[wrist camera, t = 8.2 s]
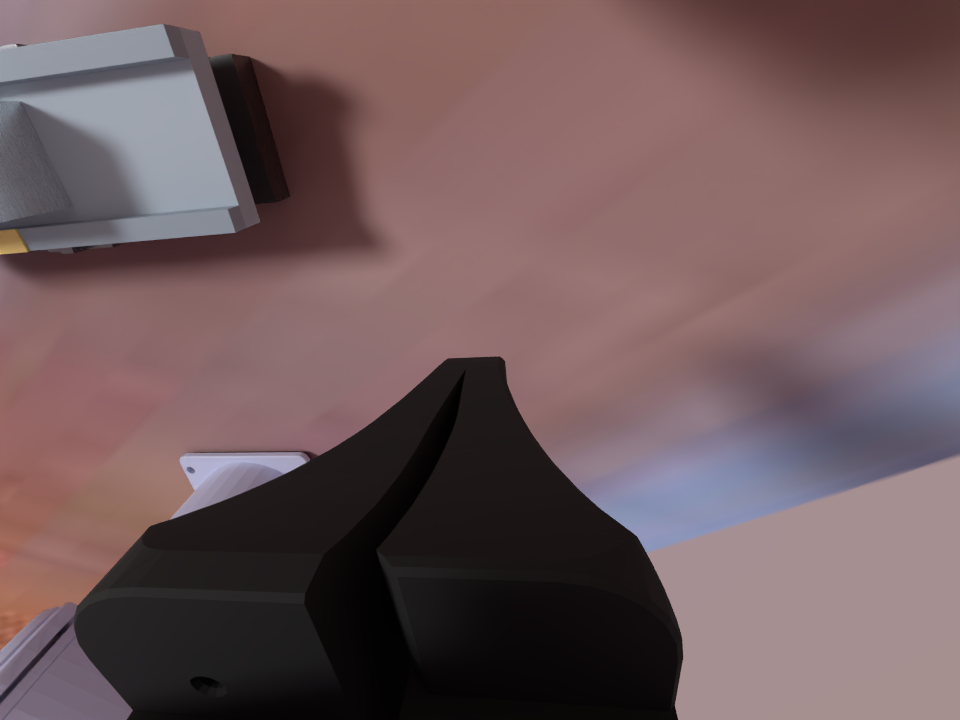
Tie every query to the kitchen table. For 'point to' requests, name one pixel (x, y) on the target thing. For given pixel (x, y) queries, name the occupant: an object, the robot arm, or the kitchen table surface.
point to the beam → (128, 139)
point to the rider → (26, 168)
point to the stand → (238, 132)
